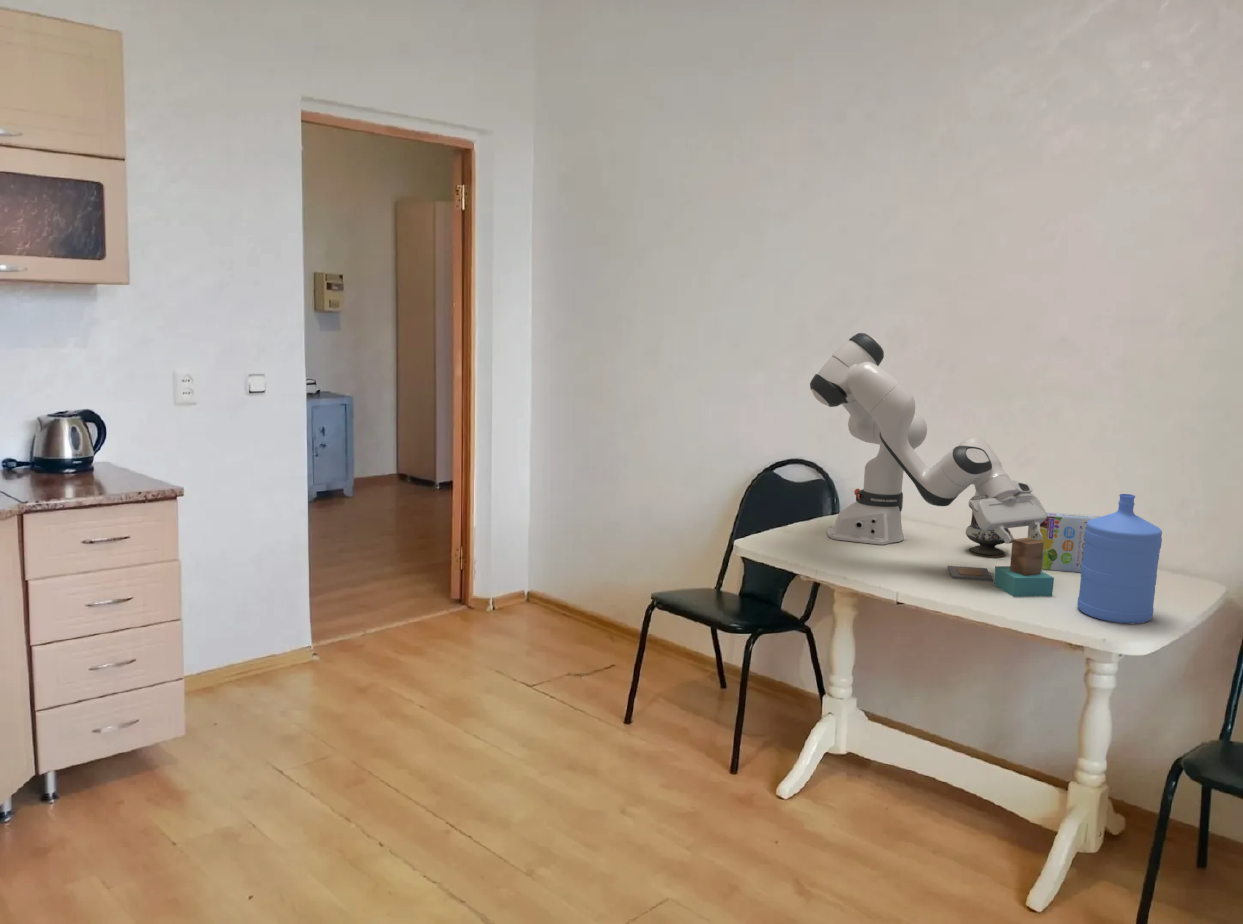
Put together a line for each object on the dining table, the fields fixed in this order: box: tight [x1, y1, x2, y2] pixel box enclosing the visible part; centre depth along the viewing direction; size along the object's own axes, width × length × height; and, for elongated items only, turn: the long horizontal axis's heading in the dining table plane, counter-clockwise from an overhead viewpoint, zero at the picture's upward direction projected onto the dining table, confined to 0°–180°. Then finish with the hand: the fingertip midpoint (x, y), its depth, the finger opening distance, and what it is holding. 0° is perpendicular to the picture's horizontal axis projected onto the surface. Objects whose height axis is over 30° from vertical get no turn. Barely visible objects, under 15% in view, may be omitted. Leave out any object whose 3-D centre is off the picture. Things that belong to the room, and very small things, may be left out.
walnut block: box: [1009, 537, 1044, 576], centre depth 237 cm, size 5×5×8 cm
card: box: [947, 565, 994, 582], centre depth 252 cm, size 10×10×1 cm
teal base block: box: [993, 565, 1055, 598], centre depth 239 cm, size 10×10×5 cm
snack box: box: [1026, 511, 1103, 574], centre depth 257 cm, size 21×6×15 cm, turn 74°
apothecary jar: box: [965, 491, 1012, 558], centre depth 272 cm, size 12×12×18 cm
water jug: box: [1076, 493, 1163, 624], centre depth 220 cm, size 16×16×28 cm
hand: (1024, 540), depth 238 cm, fingers open, 8 cm apart
